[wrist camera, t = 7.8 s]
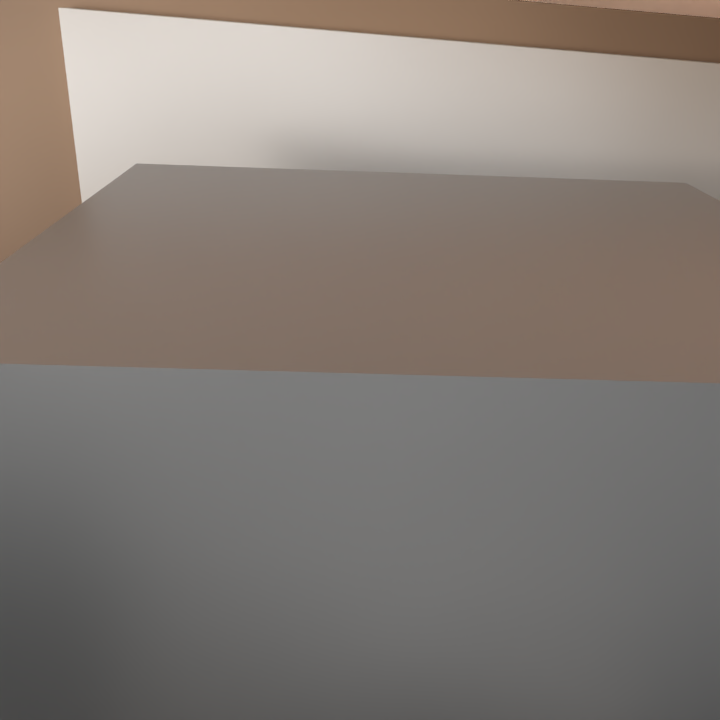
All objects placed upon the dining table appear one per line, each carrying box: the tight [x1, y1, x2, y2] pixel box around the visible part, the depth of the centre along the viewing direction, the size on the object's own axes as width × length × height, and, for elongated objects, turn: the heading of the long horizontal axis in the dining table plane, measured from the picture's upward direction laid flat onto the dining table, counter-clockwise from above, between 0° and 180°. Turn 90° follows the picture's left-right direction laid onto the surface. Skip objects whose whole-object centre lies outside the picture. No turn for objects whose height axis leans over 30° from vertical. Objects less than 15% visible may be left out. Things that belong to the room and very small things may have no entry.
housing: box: [0, 163, 720, 720], centre depth 7 cm, size 6×8×6 cm
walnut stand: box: [0, 0, 720, 263], centre depth 13 cm, size 12×16×4 cm
